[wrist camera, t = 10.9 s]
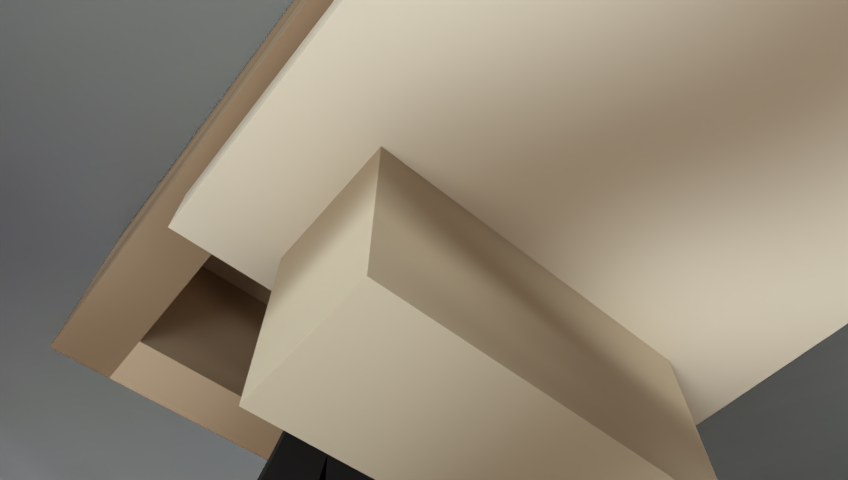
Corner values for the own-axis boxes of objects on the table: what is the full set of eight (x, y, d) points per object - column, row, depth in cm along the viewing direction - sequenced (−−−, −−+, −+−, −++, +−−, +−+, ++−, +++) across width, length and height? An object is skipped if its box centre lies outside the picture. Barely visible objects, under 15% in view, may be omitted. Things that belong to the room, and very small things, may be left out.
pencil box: (121, 235, 14) (49, 347, 11) (713, -572, 8) (855, -733, 6) (438, 424, 17) (442, 550, 14) (1049, -77, 11) (1249, -26, 8)
